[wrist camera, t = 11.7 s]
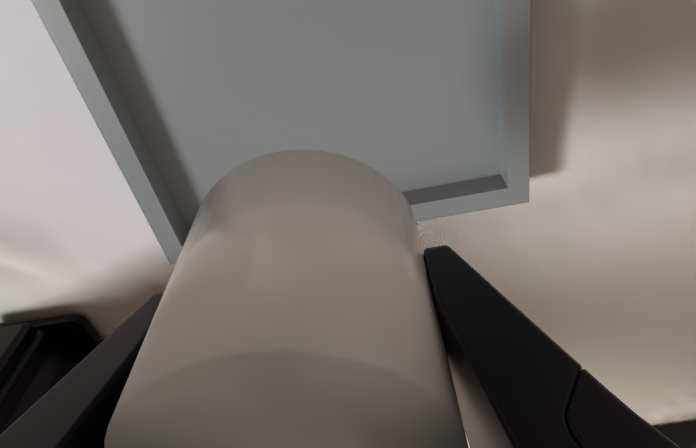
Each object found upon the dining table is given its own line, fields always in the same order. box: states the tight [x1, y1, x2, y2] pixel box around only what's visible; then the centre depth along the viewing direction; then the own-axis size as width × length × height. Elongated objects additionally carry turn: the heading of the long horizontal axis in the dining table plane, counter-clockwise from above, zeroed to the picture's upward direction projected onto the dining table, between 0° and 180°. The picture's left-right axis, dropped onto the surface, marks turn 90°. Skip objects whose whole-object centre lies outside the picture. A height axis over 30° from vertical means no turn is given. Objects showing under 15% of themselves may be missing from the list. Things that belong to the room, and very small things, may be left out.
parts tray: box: [31, 0, 531, 264], centre depth 14 cm, size 14×13×1 cm
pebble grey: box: [104, 150, 468, 448], centre depth 8 cm, size 4×4×4 cm
